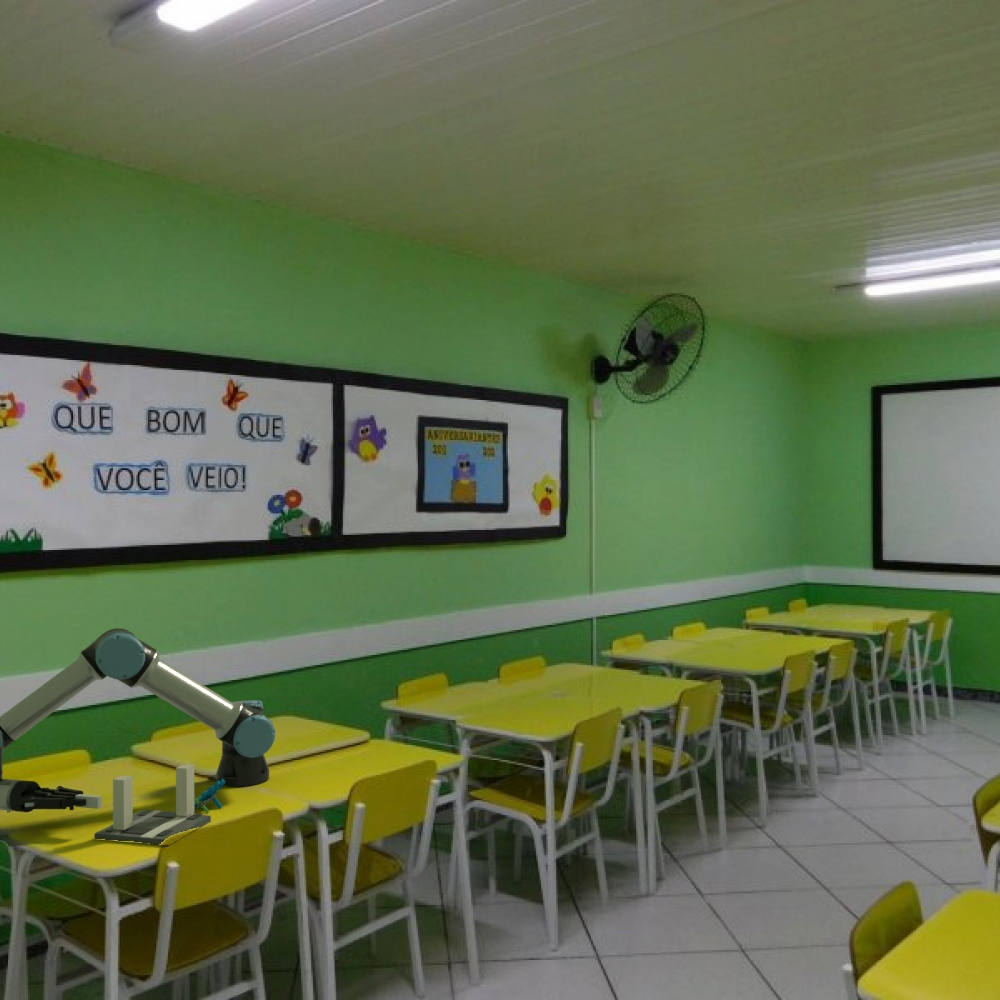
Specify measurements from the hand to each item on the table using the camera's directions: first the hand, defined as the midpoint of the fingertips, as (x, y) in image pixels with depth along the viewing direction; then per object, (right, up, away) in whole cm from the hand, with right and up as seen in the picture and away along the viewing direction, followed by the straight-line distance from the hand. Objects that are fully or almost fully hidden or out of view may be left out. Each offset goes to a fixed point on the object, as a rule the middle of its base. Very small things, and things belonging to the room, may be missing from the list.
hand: (99, 802), depth 244 cm
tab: (+6, -6, -1) cm, 9 cm away
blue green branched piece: (+20, -8, +21) cm, 30 cm away
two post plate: (+12, -8, +3) cm, 15 cm away
